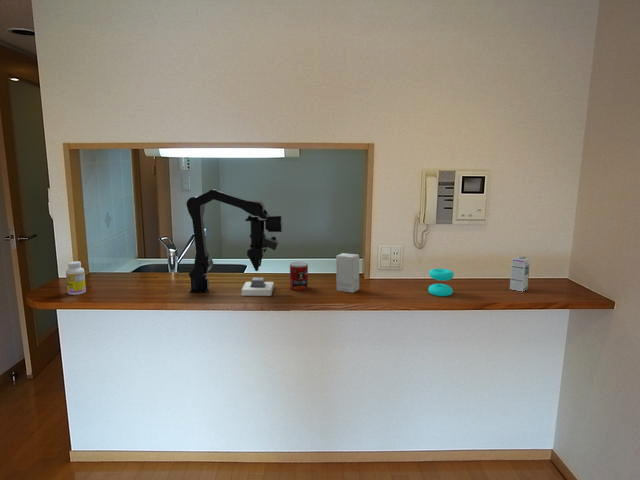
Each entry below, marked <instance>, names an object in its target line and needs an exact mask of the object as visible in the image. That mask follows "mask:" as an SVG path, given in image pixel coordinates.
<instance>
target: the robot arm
mask: <svg viewBox="0 0 640 480" xmlns="http://www.w3.org/2000/svg"><path fill="white" fill-rule="evenodd" d="M211 201H218V202H220V203H224V204H227V205H230V206H233V207H236V208H239V209H241V210H243V211H245V212H246V213H247V214H249V215H248V216H247V218H245V219H244V221H245V222H249V224H250V230H249V232H250V234H249V238H250V244H249V249H248V250H247V251H246V255H247V257H248V258H249V260H250V263H251V264H252V266H253V269H254V271H255V272H259V267H261V266H262V262H263V261H262V260H263V257H264V254H265V253H266V252H267V249H268V248H269V249H271V250H273V251H276V250H277V247H278V244H279V241H278V240H277V237H276V236H271V237H266V236H267V235H266V233H265V230H266V231H267V232H268V233H282V232H283V226H284V225H283V224H284V223H283V217H282V215H270V213H269V212H268V211H267V210H266V206H265V204H264V203H263V202H262V201H260V200H255V199H245V198H242V197H239V196H237V195H233V194H229V193H227V192H224V191H221V190H218V189H215V188H213V189H210V190H208V191H207V192H205V193H203V194H200V195H195V196H192V197H190V198H188V199H187V201H186V203H185V204H186V208H187V212H188V214H189V216H190V218H191V220H192V221H191V222H192V229H193V237H194V244H195V245H194V246H195V257H194V263H193V264H194V265H193V267H194V268H193V269H192V270H191V271H190V272H189V273H188V276H189V278H190V289H189V292H190V293H205V292H207V291H208V289H210V286H209V285H210V284H209V283H210V282H209V280H210V279H209V278H208V275H207V274H208V272H209V271H210V270H211V269H212V267H213V264H214V262H213V261H214V260H213V254H209V252H208V248H207V240H206V232H205V231H206V230H205V223H204V217H205V216H204V215H205V211H206V210H205V209H206V204H208V203H211Z"/></svg>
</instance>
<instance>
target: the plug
mask: <svg viewBox="0 0 640 480" xmlns="http://www.w3.org/2000/svg"><path fill="white" fill-rule="evenodd" d="M250 282H251V285H252V287H253V288H265V282H266V281H265V277H252V279H251V281H250Z"/></svg>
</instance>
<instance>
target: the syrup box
mask: <svg viewBox="0 0 640 480" xmlns="http://www.w3.org/2000/svg"><path fill="white" fill-rule="evenodd" d="M530 262H531V258H530V257H526V256H517V255H516V256H515V257H512V258H511V265H510V266H511V267H510V281H509V282H510V283H509V290H510V289H512V290H517V291H522V292H523V291H524V292H526V291H528V290H529V289H528V288H529V276H530V264H531V263H530ZM527 289H528V290H527ZM512 290H511V291H512ZM525 290H526V291H525ZM517 291H516V292H517ZM522 292H521V293H522ZM524 292H523V293H524Z"/></svg>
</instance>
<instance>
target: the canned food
mask: <svg viewBox="0 0 640 480" xmlns="http://www.w3.org/2000/svg"><path fill="white" fill-rule="evenodd" d="M308 267H309V264H308V263H307V262H303V261H294V262H291V263H289V287H290V290H291V291H295V292H296V291H297V292H300V291H301V292H302V291H306V290H308V284H309V283H308V281H309V279H308V278H309V275H308V274H309V273H308V272H309V268H308Z"/></svg>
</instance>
